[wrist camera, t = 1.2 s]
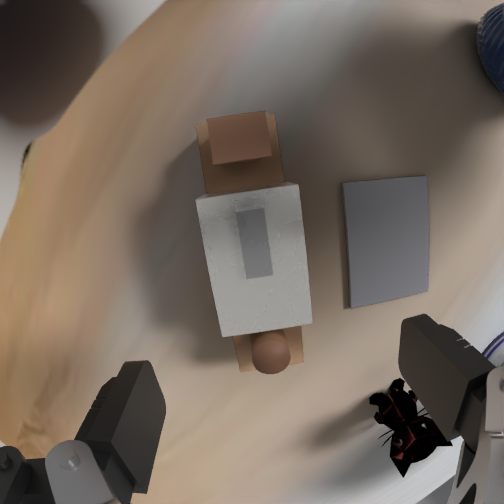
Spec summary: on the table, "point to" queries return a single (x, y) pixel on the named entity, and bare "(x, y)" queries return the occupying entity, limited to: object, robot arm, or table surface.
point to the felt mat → (386, 238)
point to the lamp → (492, 45)
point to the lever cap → (256, 257)
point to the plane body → (241, 176)
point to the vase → (496, 351)
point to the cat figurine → (406, 427)
